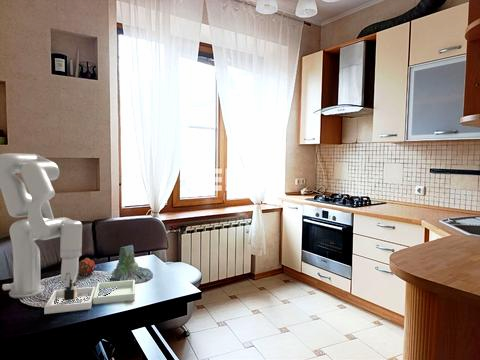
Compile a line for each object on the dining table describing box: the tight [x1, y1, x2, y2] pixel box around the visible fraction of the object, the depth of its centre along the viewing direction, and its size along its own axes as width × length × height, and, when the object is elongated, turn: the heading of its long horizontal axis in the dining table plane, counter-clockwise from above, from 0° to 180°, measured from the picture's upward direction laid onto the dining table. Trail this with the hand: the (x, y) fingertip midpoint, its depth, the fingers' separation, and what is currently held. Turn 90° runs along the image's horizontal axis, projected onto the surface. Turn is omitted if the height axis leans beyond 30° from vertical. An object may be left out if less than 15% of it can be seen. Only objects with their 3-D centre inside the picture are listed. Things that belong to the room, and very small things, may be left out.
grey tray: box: [43, 286, 97, 315], centre depth 127 cm, size 16×16×3 cm
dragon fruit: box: [78, 257, 96, 276], centre depth 159 cm, size 8×8×12 cm
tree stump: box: [111, 244, 154, 285], centre depth 157 cm, size 18×20×18 cm
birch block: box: [63, 285, 78, 301], centre depth 127 cm, size 4×4×4 cm
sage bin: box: [92, 280, 136, 305], centre depth 135 cm, size 16×16×3 cm
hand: (70, 296), depth 127 cm, fingers closed on birch block, 3 cm apart
